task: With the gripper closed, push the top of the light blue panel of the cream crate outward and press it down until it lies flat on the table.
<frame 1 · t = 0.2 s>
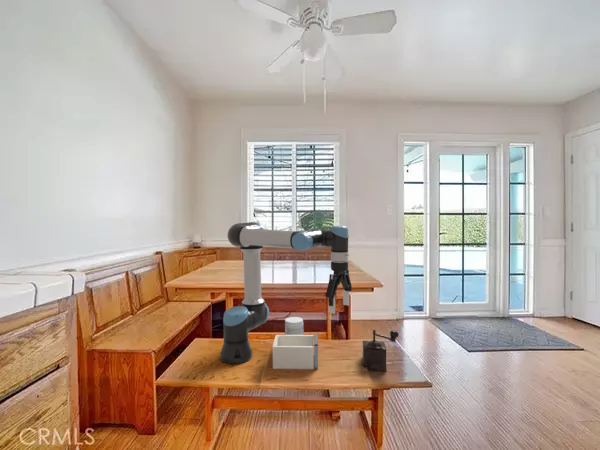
hand: (339, 308, 147), 27 cm above the table, tool pointing down, fingers open, 13 cm apart
light blue panel: (316, 350, 153), point 7 cm above the table, hinge at 0.0°
crate: (294, 364, 154), on the table
dark brown coffee grinder: (379, 366, 152), on the table
supplement tub: (294, 348, 172), on the table
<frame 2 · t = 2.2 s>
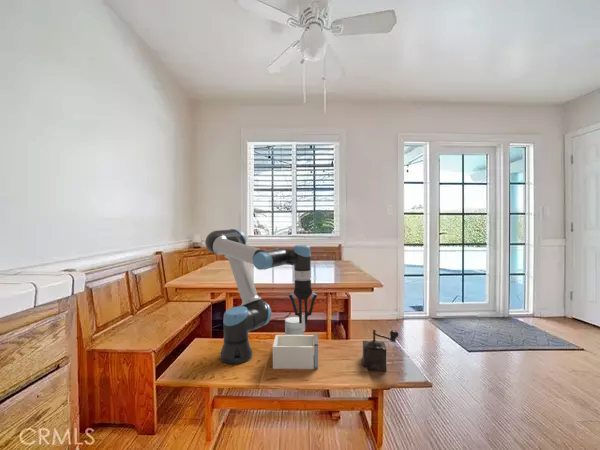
hand: (303, 330, 153), 16 cm above the table, tool pointing down, fingers closed
nothing on the table moved.
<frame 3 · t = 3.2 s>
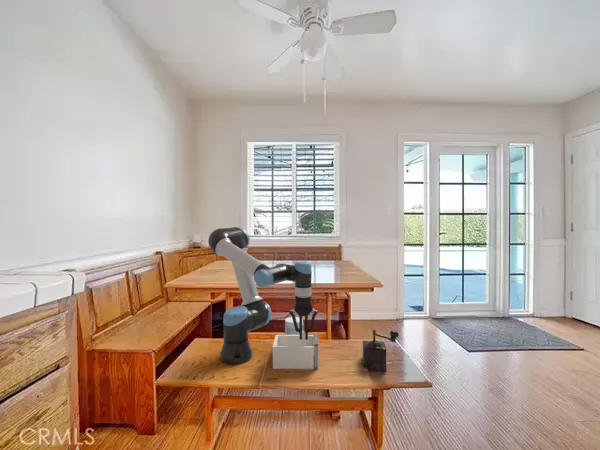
hand: (303, 346, 153), 8 cm above the table, tool pointing down, fingers closed
nothing on the table moved.
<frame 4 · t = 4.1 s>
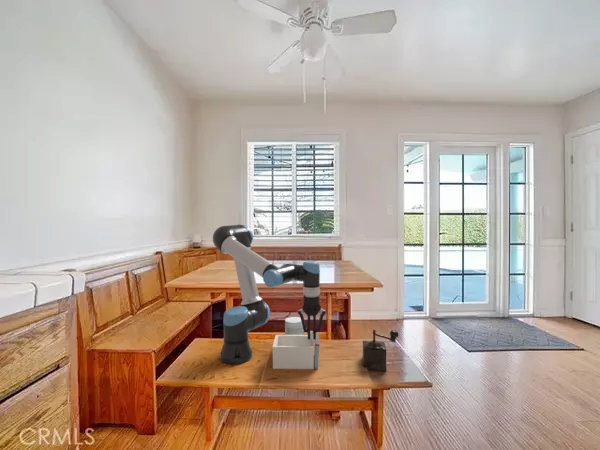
hand: (311, 345, 153), 9 cm above the table, tool pointing down, fingers closed
light blue panel: (316, 350, 153), point 7 cm above the table, hinge at 2.6°, touching gripper
everything else where it was.
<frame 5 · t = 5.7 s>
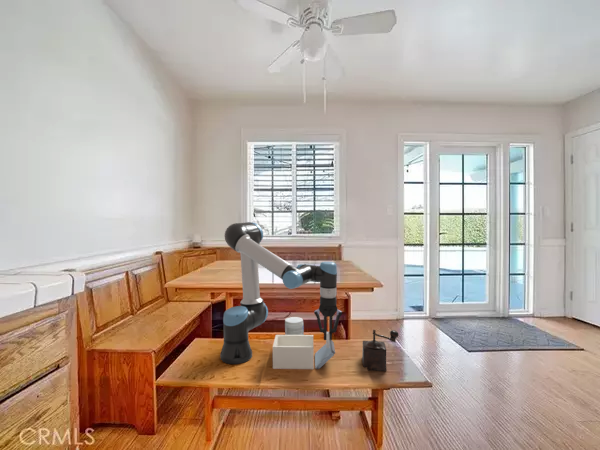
hand: (327, 346, 153), 8 cm above the table, tool pointing down, fingers closed
light blue panel: (324, 353, 153), point 5 cm above the table, hinge at 46.4°, touching gripper
everything else where it was.
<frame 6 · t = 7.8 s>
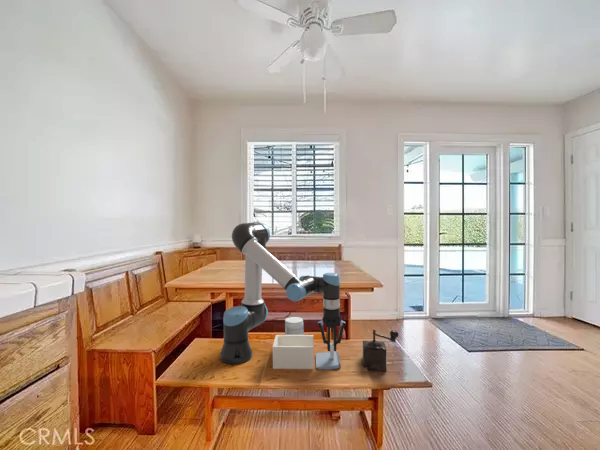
hand: (331, 357, 153), 3 cm above the table, tool pointing down, fingers closed
light blue panel: (327, 360, 153), point 2 cm above the table, hinge at 83.3°, touching gripper
everything else where it was.
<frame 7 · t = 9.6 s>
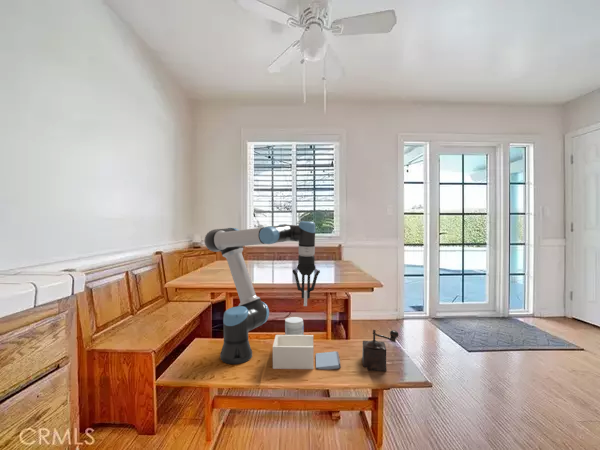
hand: (305, 305, 155), 27 cm above the table, tool pointing down, fingers closed
light blue panel: (327, 360, 153), point 2 cm above the table, hinge at 83.3°
everything else where it was.
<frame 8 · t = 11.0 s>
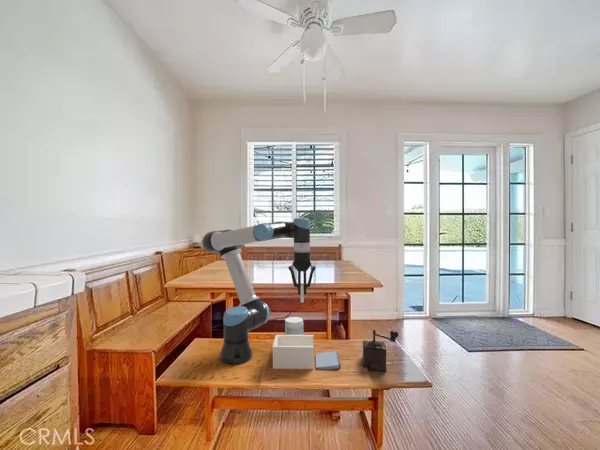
hand: (302, 301, 155), 28 cm above the table, tool pointing down, fingers closed
nothing on the table moved.
at the end: light blue panel at +83° (first picture: +0°); dark brown coffee grinder moved 0.3 cm from its start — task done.
